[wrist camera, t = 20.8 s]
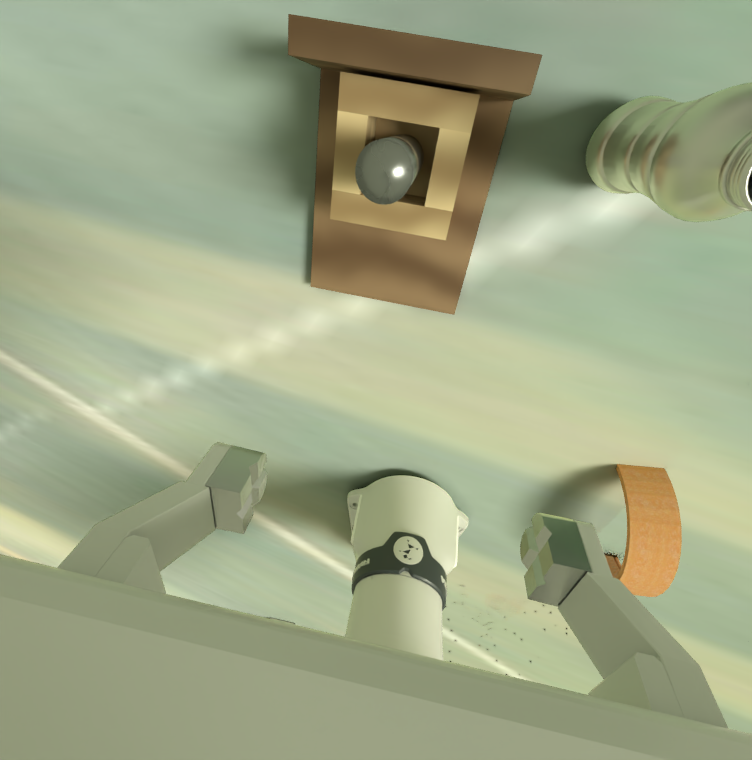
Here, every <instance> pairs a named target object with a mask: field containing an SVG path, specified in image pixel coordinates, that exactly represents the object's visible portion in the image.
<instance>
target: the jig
mask: <svg viewBox="0 0 752 760" xmlns="http://www.w3.org/2000/svg"><path fill="white" fill-rule="evenodd" d="M288 55H290V56H292V57H295V58H297V59H299V60H302V61H304V62H307V63H309V64H311V65H314V66H316V67H319V68H321V79H320V100H319V121H318V142H317V162H316V183H315V204H314V225H313V246H312V267H311V287H316V288H321V289H326V290H331V291H336V292H341V293H347V294H352V295H357V296H362V297H367V298H372V299H377V300H382V301H387V302H392V303H398V304H403V305H408V306H413V307H418V308H423V309H428V310H433V311H438V312H443V313H449V314H455V310H456V306H457V303H458V299H459V296H460V292H461V288H462V285H463V281H464V277H465V274H466V270H467V267H468V263H469V259H470V256H471V252H472V249H473V245H474V241H475V238H476V234H477V231H478V227H479V223H480V220H481V216H482V213H483V209H484V205H485V202H486V198H487V195H488V191H489V187H490V184H491V180H492V176H493V173H494V169H495V166H496V162H497V158H498V155H499V151H500V148H501V144H502V140H503V137H504V133H505V130H506V126H507V122H508V119H509V115H510V112H511V108H512V104H513V101H514V100H517V99H520V98H523V97H526V96H529V95H531V91H532V88H533V85H534V81H535V78H536V75H537V71H538V68H539V64H540V61H541V58H542V55H540V54H534V53H528V52H522V51H515V50H509V49H503V48H497V47H490V46H484V45H478V44H472V43H465V42H459V41H453V40H447V39H441V38H434V37H428V36H422V35H416V34H409V33H403V32H397V31H391V30H385V29H378V28H372V27H366V26H360V25H353V24H347V23H341V22H335V21H328V20H322V19H316V18H310V17H304V16H297V15H291V14H289V21H288ZM340 71H341V72H347V73H353V74H359V75H365V76H370V77H376V78H382V79H388V80H394V81H400V82H406V83H412V84H418V85H424V86H430V87H436V88H442V89H448V90H454V91H460V92H466V93H472V94H478V95H480V98H479V102H478V106H477V110H476V114H475V119H474V123H473V127H472V131H471V136H470V140H469V144H468V148H467V153H466V157H465V161H464V165H463V170H462V174H461V178H460V182H459V186H458V191H457V195H456V199H455V203H454V208H453V212H452V216H451V220H450V225H449V229H448V233H447V237H446V240H440V239H435V238H430V237H424V236H419V235H414V234H408V233H403V232H398V231H392V230H387V229H381V228H376V227H371V226H365V225H360V224H355V223H349V222H344V221H339V220H333V219H330V213H331V199H332V185H333V170H334V156H335V142H336V128H337V113H338V99H339V85H340Z"/></svg>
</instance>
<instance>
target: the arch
mask: <svg viewBox="0 0 752 760" xmlns="http://www.w3.org/2000/svg"><path fill="white" fill-rule="evenodd" d="M616 470H617V472H618V475H619V478H620V481H621V484H622V488H623V492H624V497H625V503H626V512H627V543H626V550H625V556H624V560H623V563H622V566H621V564H620V562H619V559H618V557H617V556H616V555H614V556H613V555H611V554H604V555H605V557H606V560H607V563H608V565H609V568H610V571H611V574H612V576H613V578H616V579H619V580H620V581H621V582H622V583H623V584H624V585H625V587H626V588H627V589H628V590H629V591H630V592H631V593H632V594H633V595H639V596H647V597H655V596H658V595H660V594H662V593H663V592H665V591H666V590H667V589H668V588H669V586H670V584H671V583H672V581H673V580H674V577H675V574H676V572H677V569H678V564H679V560H680V554H681V542H682V540H681V521H680V513H679V508H678V503H677V499H676V495H675V492H674V489H673V486H672V483H671V481H670V479H669V477H668V475H667V472H666V471H665V469H664V468H654V467H643V466H631V465H620V464H617V468H616Z"/></svg>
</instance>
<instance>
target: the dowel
mask: <svg viewBox="0 0 752 760" xmlns="http://www.w3.org/2000/svg"><path fill="white" fill-rule="evenodd" d="M423 160H424V154H423V149H422V146H421V144H420V143H419V141H418V140H417V139H416V138H414V137H413V136H411V135H408V134H399V135H395V136H391V137H387V138H383V139H378V140H375V141H373V142H371V143H369V144H368V145H367V146H365V148H364V149H363V150H362V151H361V153H360V154H359V156H358V159H357V162H356V167H355V177H356V182H357V185H358V187H359V189H360V191H361V192H362V194H363V195H364V196H365V197H366V198H367V199H369V200H370V201H372V202H374V203H377V204H382V205H387V204H392V203H394V202H396V201H398V200H400V199H401V198H402V197H403V196H404V195H405V194H406V193H407V191H408V189H409V188H410V186H411V185H412V183H413V181H414V180H415V178H416V176H417V175H418V173H419V172H420V170H421V168H422V165H423Z"/></svg>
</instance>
